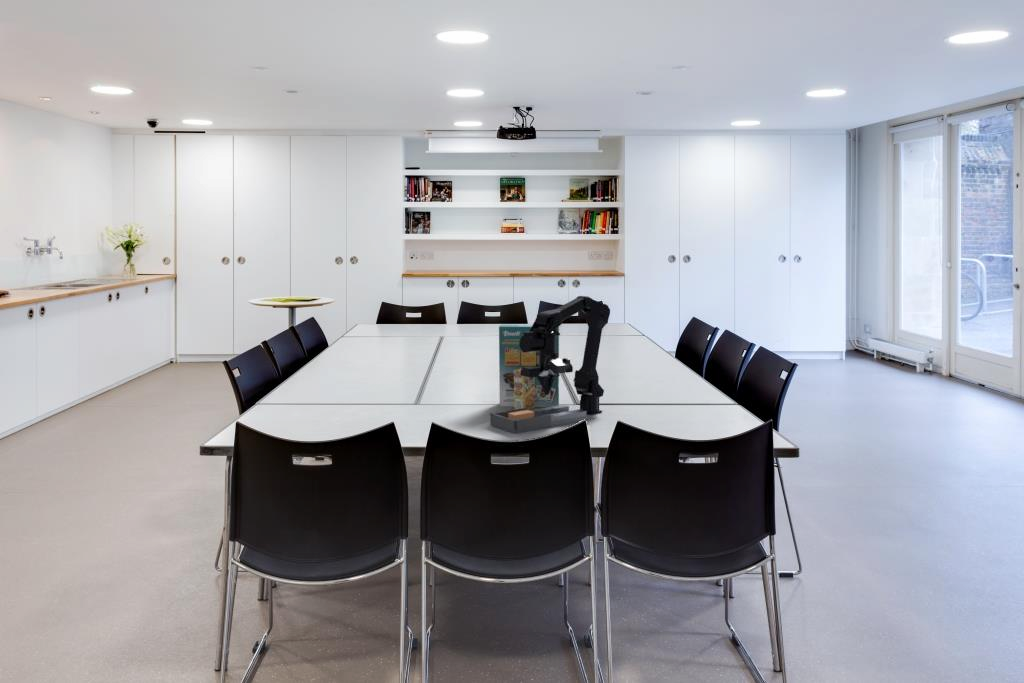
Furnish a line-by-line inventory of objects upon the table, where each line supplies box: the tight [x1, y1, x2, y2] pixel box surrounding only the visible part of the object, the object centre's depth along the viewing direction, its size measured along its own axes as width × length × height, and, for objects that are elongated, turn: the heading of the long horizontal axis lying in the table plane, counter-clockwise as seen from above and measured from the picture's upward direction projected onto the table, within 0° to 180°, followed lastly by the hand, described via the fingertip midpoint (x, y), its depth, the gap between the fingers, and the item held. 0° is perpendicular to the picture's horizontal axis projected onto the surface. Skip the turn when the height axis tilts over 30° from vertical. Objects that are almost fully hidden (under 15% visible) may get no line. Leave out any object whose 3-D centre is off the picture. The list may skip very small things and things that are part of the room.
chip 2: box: [518, 409, 534, 419], centre depth 285 cm, size 4×4×4 cm
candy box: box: [513, 368, 536, 410], centre depth 309 cm, size 9×4×15 cm, turn 150°
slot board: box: [529, 404, 588, 428], centre depth 293 cm, size 16×14×3 cm
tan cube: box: [508, 412, 525, 420], centre depth 283 cm, size 4×4×4 cm
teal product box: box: [498, 324, 560, 408], centre depth 315 cm, size 22×6×30 cm, turn 84°
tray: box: [490, 408, 552, 435], centre depth 284 cm, size 15×14×4 cm
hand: (546, 394), depth 289 cm, fingers closed
